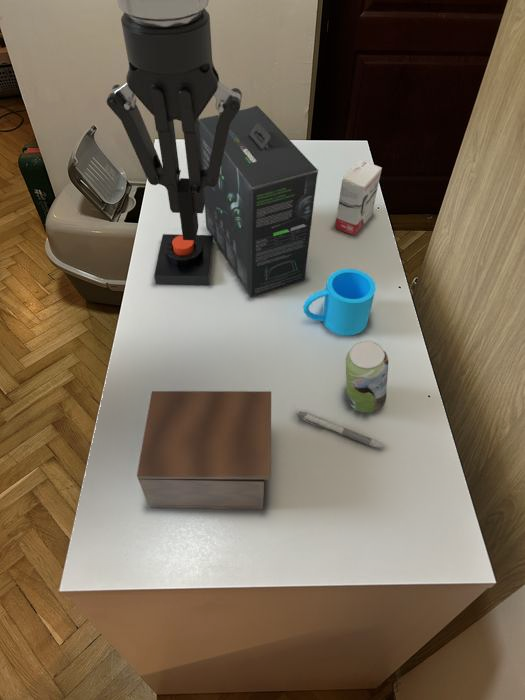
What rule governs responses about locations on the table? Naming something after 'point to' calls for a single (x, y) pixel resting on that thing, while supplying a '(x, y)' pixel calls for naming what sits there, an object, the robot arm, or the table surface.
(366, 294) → the mug
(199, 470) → the brown wooden lid
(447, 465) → the table surface
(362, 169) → the ink box
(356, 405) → the beverage can
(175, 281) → the button block
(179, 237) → the button
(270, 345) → the table surface
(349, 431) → the pen
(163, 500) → the chest
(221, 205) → the headset box
